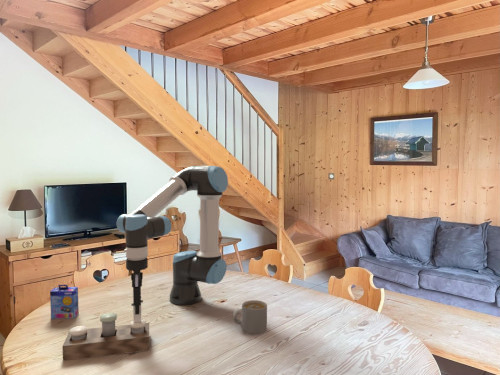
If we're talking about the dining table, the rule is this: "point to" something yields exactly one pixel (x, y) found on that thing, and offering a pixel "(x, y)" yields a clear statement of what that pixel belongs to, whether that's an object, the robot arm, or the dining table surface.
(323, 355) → the dining table surface
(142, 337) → the panel
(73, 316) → the ink cartridge box
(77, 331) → the knob
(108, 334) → the knob middle
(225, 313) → the dining table surface
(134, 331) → the knob
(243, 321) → the coffee mug
